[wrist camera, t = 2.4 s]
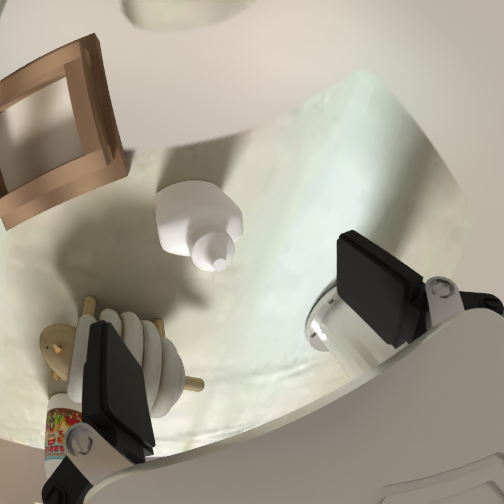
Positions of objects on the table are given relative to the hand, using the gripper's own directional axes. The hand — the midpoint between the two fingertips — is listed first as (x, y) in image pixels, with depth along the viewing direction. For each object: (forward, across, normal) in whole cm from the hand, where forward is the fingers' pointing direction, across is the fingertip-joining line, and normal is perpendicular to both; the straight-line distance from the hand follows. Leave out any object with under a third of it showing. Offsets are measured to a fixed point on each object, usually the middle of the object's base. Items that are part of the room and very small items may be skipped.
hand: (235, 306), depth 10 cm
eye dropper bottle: (+16, 0, +1) cm, 16 cm away
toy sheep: (+16, +10, +12) cm, 22 cm away
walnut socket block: (+16, +10, -9) cm, 21 cm away
